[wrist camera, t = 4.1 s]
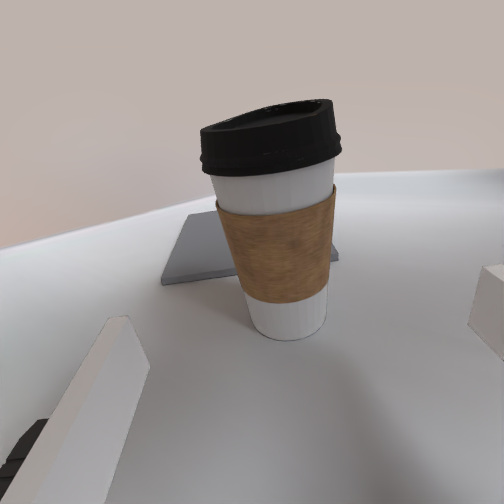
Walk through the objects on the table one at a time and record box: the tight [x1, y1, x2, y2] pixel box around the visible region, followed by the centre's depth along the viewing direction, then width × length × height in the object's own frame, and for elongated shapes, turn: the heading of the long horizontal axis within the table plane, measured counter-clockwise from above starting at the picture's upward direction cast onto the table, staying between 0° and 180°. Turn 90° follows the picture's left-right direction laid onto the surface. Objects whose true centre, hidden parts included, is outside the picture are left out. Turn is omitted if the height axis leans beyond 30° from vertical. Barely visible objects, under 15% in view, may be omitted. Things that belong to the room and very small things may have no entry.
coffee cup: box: [200, 99, 342, 341], centre depth 20 cm, size 8×8×15 cm
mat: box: [161, 211, 338, 285], centre depth 38 cm, size 18×18×1 cm
